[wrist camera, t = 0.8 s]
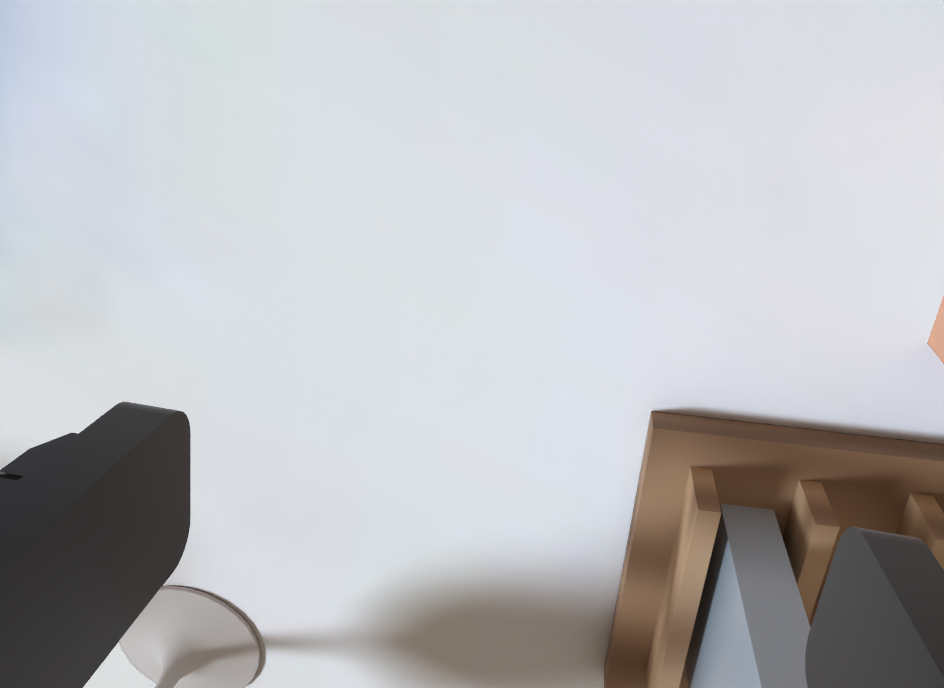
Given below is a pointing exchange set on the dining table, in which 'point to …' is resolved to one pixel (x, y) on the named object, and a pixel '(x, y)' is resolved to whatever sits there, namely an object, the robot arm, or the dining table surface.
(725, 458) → the dish rack
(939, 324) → the salmon pink rectangular prism
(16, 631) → the robot arm
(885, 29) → the dining table surface
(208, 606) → the wineglass
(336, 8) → the dining table surface
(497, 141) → the dining table surface
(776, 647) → the grey-blue thick slab
